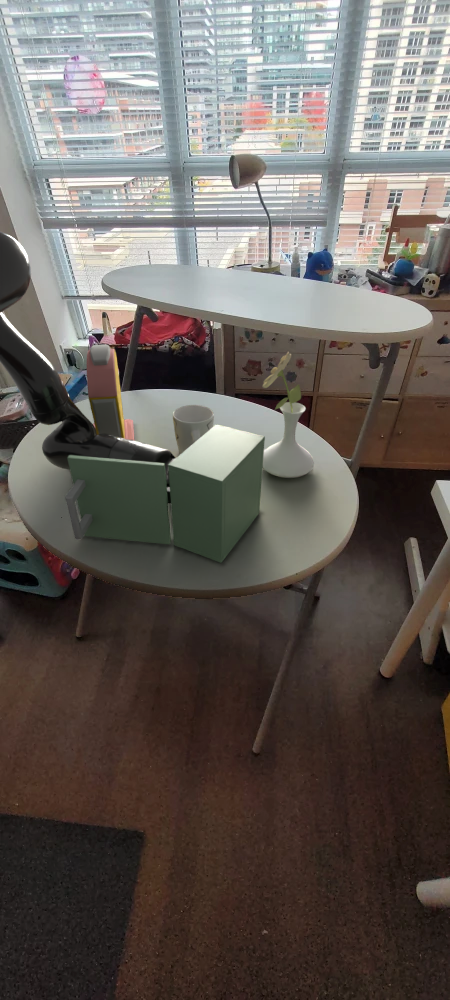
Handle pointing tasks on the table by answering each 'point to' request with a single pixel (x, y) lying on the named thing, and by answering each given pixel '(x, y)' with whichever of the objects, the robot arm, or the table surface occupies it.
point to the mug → (191, 424)
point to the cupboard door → (119, 499)
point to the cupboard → (216, 490)
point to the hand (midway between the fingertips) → (227, 491)
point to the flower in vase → (287, 434)
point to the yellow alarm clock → (106, 393)
